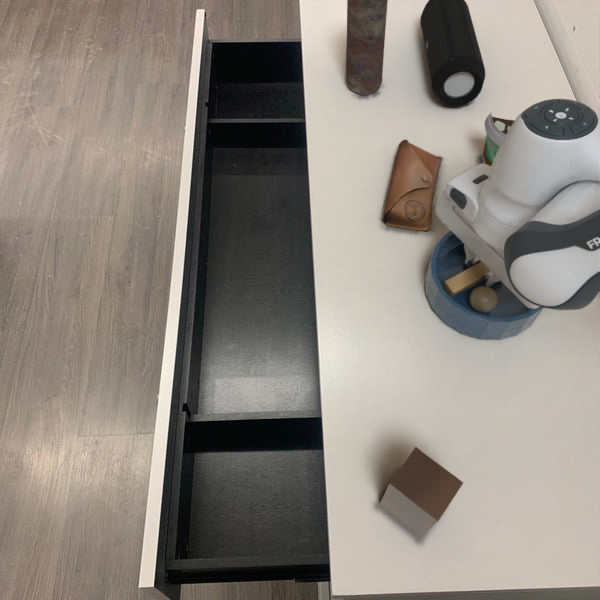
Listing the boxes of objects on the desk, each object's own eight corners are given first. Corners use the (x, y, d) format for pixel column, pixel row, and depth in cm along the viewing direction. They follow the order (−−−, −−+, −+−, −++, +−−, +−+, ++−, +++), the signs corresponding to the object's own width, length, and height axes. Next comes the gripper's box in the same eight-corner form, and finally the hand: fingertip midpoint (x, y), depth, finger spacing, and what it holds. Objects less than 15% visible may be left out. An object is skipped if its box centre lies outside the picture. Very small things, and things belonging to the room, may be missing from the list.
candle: (337, 86, 108) (339, -14, 91) (358, 68, 111) (364, -32, 94) (367, 101, 106) (375, 1, 89) (388, 82, 108) (400, -19, 91)
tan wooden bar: (505, 250, 81) (508, 246, 80) (514, 261, 80) (518, 257, 79) (442, 285, 78) (444, 281, 77) (451, 297, 77) (453, 293, 76)
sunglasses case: (433, 231, 87) (417, 205, 83) (394, 238, 91) (377, 214, 87) (444, 155, 96) (430, 127, 92) (408, 165, 100) (393, 139, 96)
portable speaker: (415, 34, 117) (423, -13, 108) (461, 32, 116) (472, -14, 108) (428, 111, 103) (438, 66, 95) (480, 110, 103) (494, 64, 94)
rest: (442, 503, 66) (463, 482, 56) (420, 537, 64) (438, 521, 54) (402, 472, 68) (415, 446, 58) (379, 504, 66) (389, 483, 56)
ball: (481, 308, 81) (505, 298, 79) (475, 321, 78) (500, 311, 76) (467, 287, 81) (491, 277, 78) (461, 299, 78) (485, 289, 75)
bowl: (560, 283, 82) (576, 260, 77) (504, 363, 75) (517, 345, 70) (461, 229, 88) (470, 204, 83) (402, 298, 82) (407, 277, 77)
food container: (467, 179, 94) (481, 135, 85) (473, 155, 97) (488, 110, 88) (539, 195, 91) (561, 151, 83) (543, 170, 94) (565, 125, 86)
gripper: (591, 259, 63) (546, 313, 75) (474, 155, 72) (450, 218, 84) (553, 285, 62) (513, 335, 74) (438, 175, 70) (419, 236, 82)
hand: (479, 272), depth 79 cm, fingers closed on tan wooden bar, 2 cm apart
